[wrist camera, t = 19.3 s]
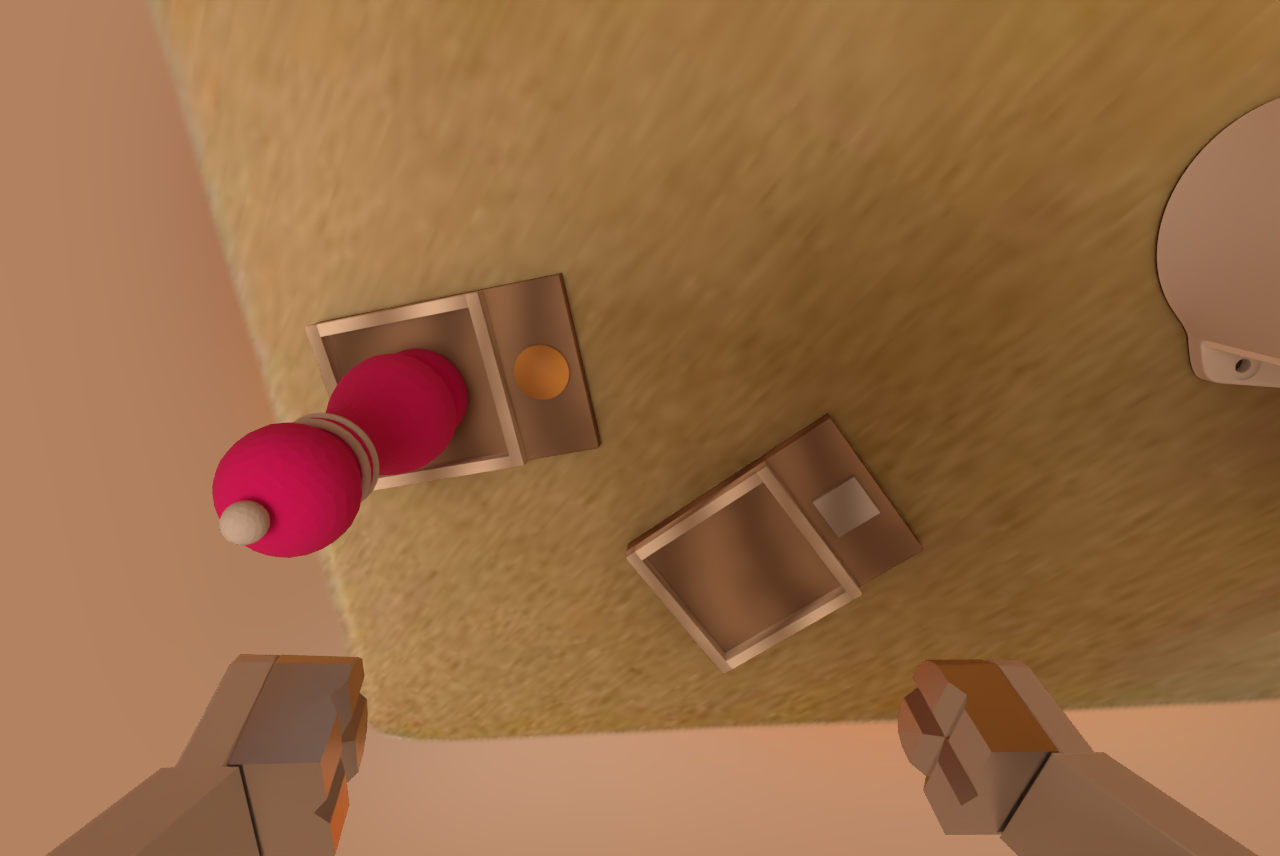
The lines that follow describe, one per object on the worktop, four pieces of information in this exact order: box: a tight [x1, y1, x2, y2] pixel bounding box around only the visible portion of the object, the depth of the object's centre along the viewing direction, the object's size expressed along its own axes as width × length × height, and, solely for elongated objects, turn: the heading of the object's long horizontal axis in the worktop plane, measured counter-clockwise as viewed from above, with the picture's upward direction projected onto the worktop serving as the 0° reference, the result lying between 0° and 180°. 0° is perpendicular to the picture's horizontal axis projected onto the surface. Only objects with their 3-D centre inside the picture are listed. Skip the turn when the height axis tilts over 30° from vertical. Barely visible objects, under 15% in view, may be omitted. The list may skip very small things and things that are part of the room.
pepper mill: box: [213, 348, 468, 558], centre depth 36 cm, size 7×7×20 cm
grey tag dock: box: [626, 414, 923, 674], centre depth 47 cm, size 17×12×2 cm
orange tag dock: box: [305, 273, 601, 490], centre depth 45 cm, size 17×12×2 cm
